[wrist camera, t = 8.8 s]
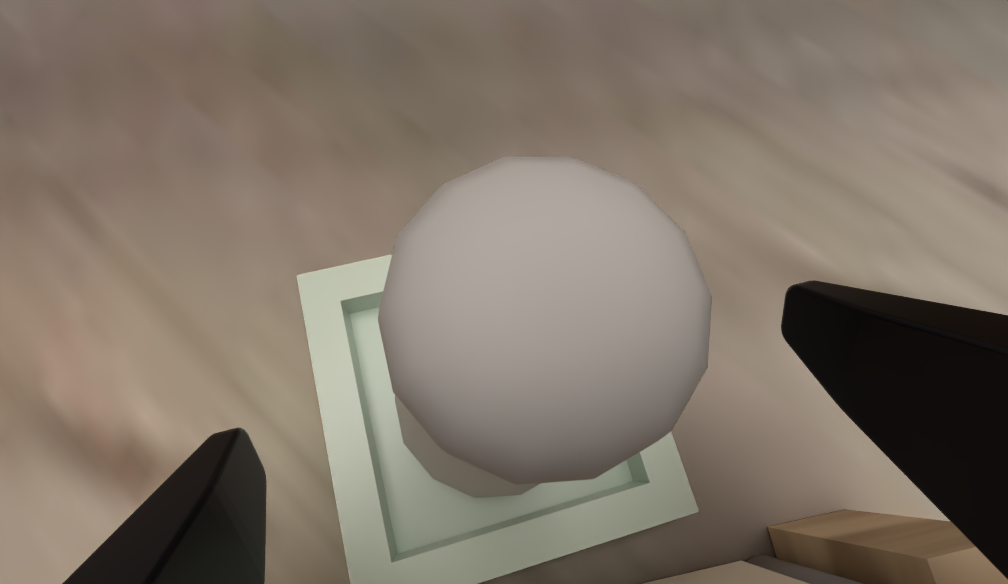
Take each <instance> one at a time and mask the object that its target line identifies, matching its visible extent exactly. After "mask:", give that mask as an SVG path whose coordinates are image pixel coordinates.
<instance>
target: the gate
mask: <svg viewBox="0 0 1008 584" xmlns="http://www.w3.org/2000/svg"><path fill="white" fill-rule="evenodd" d="M643 584H863V583H860V582H856V581H853V580H849V579H846V578H843V577H839V576H836V575H832V574H829V573H825V572H822V571H819V570H815V569H812V568H808V567H805V566H802V565H798V564H795V563H791V562H788V561H784V560H781V559H778V558H774V557H771V556H767V555H756V556H754V557H752V558H750V559H749V560H748V561H747V562H744V561H737V562H733V563H729V564H725V565H720V566H716V567H712V568H707V569H703V570H699V571H694V572H690V573H686V574H682V575H677V576H673V577H669V578H664V579H660V580H656V581H651V582H647V583H643Z"/></svg>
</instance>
